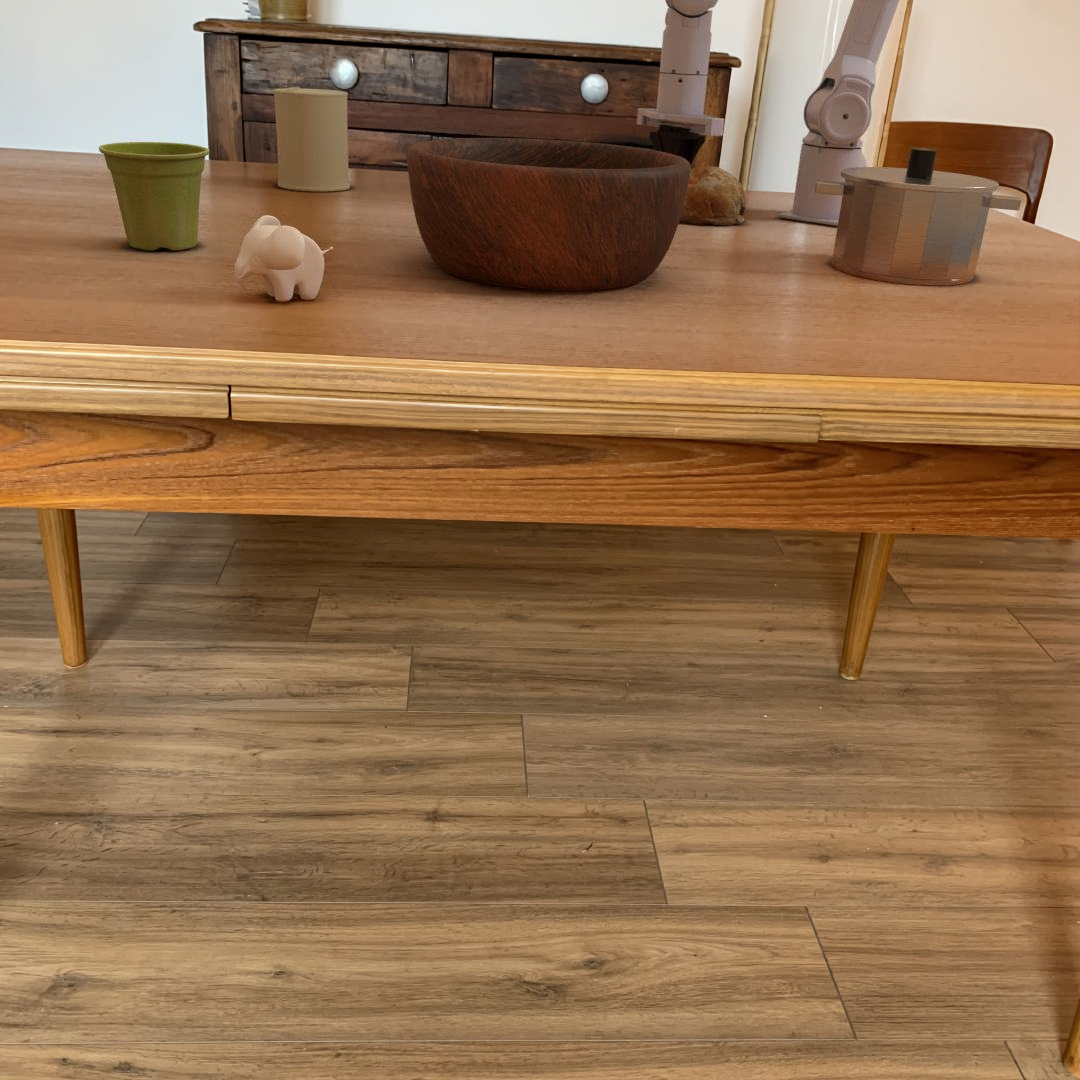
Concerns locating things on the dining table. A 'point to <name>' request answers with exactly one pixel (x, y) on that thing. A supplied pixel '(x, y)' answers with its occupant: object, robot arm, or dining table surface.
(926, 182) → the pot lid
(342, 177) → the can
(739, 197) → the bread roll
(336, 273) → the dining table surface
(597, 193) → the wooden bowl
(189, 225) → the plant pot
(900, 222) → the pot
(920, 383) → the dining table surface
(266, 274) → the elephant figurine
